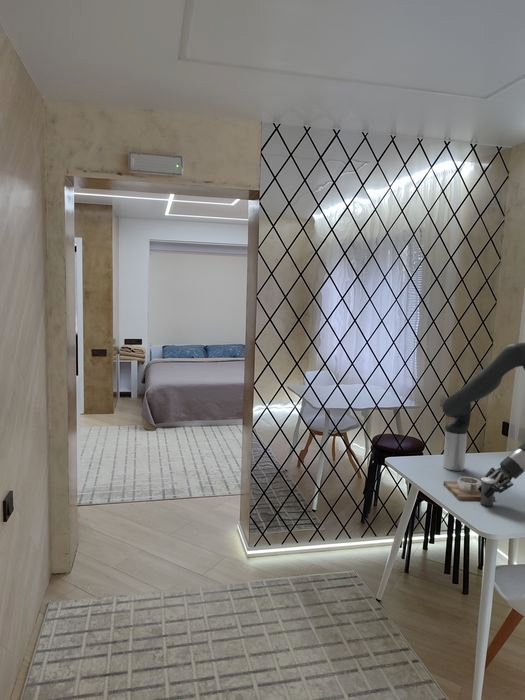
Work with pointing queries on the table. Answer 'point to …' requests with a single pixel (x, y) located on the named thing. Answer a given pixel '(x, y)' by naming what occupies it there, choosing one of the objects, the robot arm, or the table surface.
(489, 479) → the white capped grey cylinder
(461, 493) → the mount board
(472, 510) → the table surface
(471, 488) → the faceted white ring
